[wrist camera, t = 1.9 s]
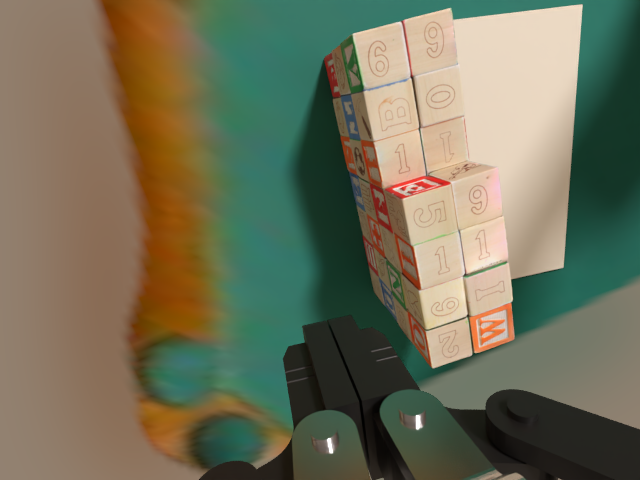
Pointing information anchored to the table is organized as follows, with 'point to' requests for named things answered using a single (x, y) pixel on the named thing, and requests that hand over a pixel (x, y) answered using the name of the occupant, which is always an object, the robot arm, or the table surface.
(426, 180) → the stack of blocks
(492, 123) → the mat
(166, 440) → the table surface
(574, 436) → the robot arm
